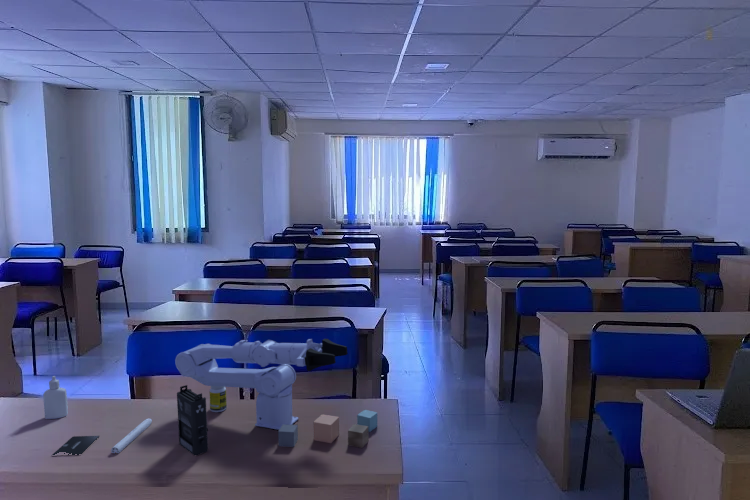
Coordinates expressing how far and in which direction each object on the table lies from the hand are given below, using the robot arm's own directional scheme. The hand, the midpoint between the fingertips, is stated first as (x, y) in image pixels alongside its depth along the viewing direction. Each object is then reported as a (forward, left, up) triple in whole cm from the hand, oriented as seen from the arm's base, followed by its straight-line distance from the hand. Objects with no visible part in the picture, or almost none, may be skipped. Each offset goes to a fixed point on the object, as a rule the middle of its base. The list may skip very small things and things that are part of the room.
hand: (341, 354), depth 135 cm
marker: (-51, -20, -22) cm, 59 cm away
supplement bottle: (-41, +2, -22) cm, 47 cm away
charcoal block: (-11, -9, -22) cm, 26 cm away
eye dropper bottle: (-82, -18, -22) cm, 87 cm away
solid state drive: (-61, -29, -22) cm, 71 cm away
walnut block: (+6, -3, -22) cm, 23 cm away
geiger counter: (-32, -19, -22) cm, 43 cm away
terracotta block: (-3, -3, -22) cm, 22 cm away
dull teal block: (+5, +6, -22) cm, 23 cm away
